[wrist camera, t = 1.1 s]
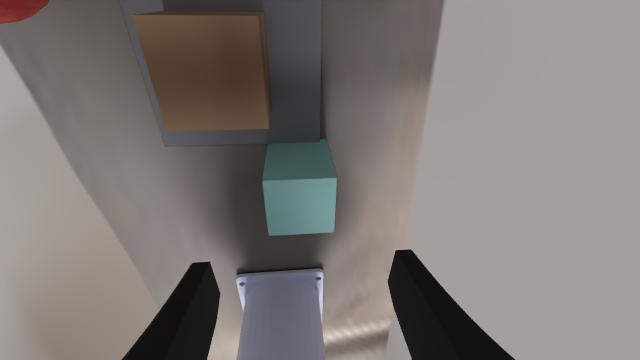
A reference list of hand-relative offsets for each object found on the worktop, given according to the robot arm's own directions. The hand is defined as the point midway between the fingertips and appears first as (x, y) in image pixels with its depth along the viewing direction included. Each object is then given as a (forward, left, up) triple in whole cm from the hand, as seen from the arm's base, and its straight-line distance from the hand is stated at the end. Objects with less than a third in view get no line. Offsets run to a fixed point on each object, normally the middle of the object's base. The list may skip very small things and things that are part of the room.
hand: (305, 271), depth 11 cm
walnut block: (+6, +4, -10) cm, 12 cm away
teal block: (-1, 0, -10) cm, 10 cm away
